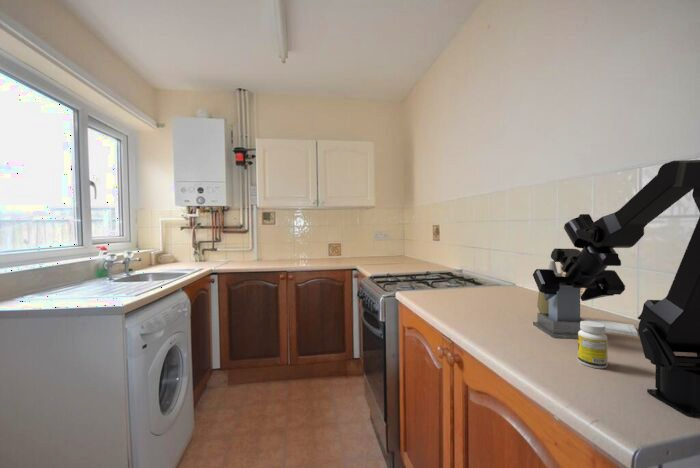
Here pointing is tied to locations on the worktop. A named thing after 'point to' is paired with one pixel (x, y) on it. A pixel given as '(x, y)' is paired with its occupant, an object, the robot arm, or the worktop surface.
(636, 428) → the worktop surface
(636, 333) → the hard drive
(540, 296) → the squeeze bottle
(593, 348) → the supplement bottle
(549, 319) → the pocket plate
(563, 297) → the grey tall block
